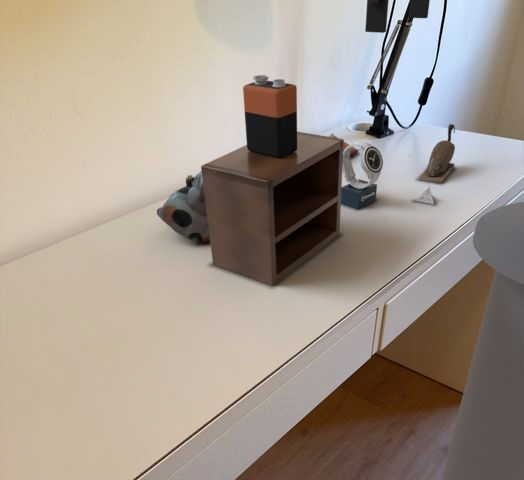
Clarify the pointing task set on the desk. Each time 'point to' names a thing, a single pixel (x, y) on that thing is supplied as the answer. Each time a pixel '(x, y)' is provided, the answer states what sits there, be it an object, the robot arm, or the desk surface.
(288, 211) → the shelf
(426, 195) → the tetrahedral die
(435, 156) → the figurine
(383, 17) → the robot arm
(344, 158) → the watch
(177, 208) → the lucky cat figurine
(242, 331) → the desk surface
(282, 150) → the battery
